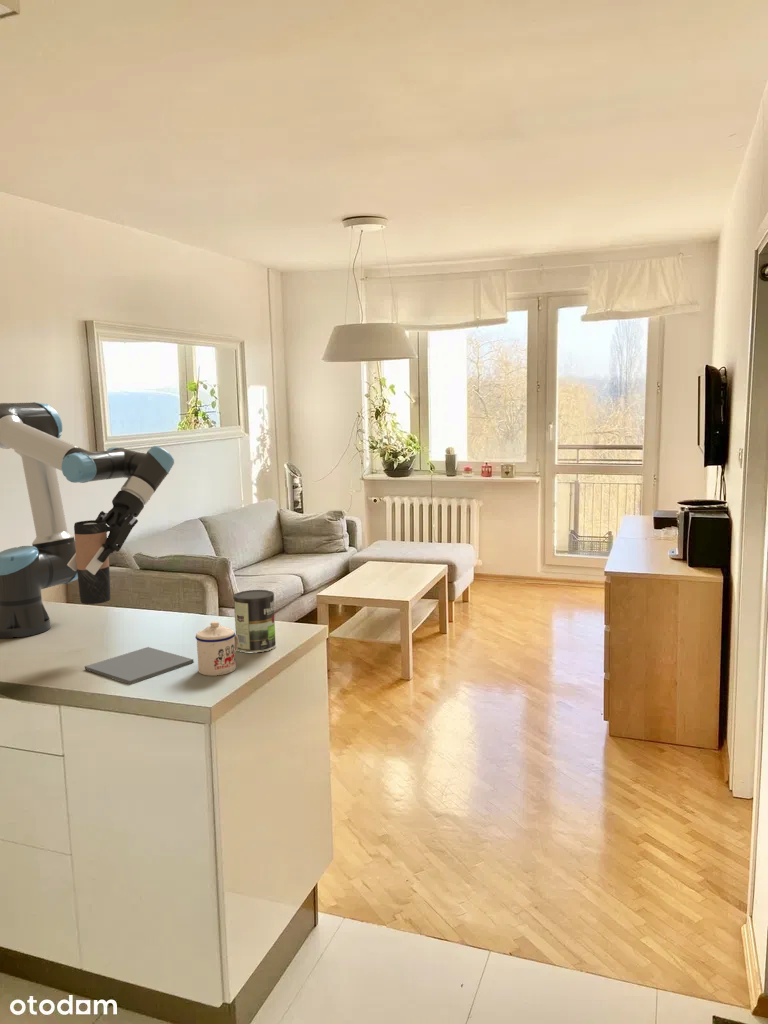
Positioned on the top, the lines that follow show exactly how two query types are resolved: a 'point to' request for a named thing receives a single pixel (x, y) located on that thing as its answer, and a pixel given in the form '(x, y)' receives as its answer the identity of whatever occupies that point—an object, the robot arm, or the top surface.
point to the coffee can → (255, 620)
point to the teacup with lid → (216, 650)
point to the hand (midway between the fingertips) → (80, 569)
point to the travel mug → (87, 546)
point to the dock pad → (139, 665)
